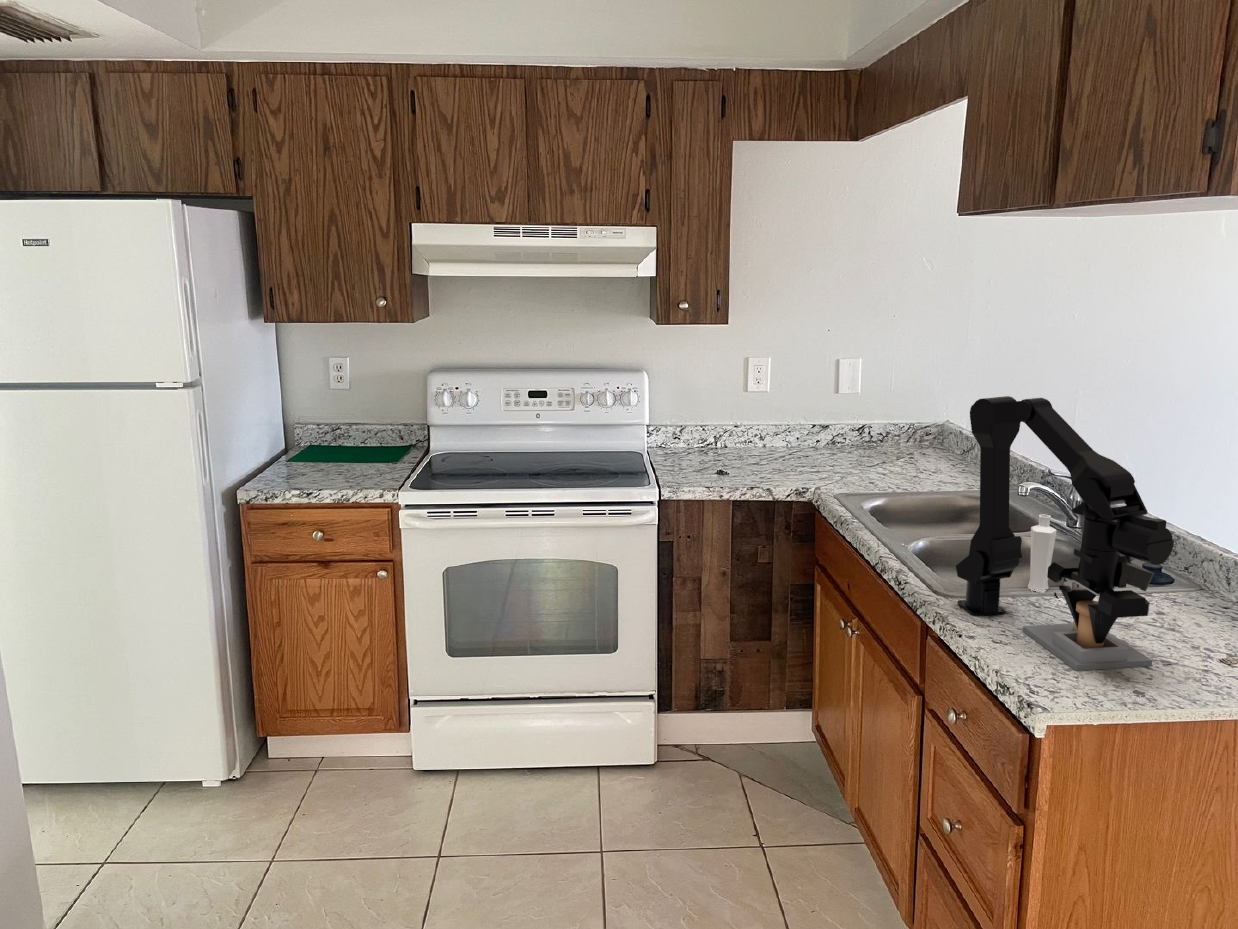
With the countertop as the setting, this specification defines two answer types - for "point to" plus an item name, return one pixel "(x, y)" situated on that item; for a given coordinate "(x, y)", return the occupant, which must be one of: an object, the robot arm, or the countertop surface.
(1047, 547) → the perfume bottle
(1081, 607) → the tan flared peg
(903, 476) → the countertop surface
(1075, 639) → the housing
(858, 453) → the countertop surface
